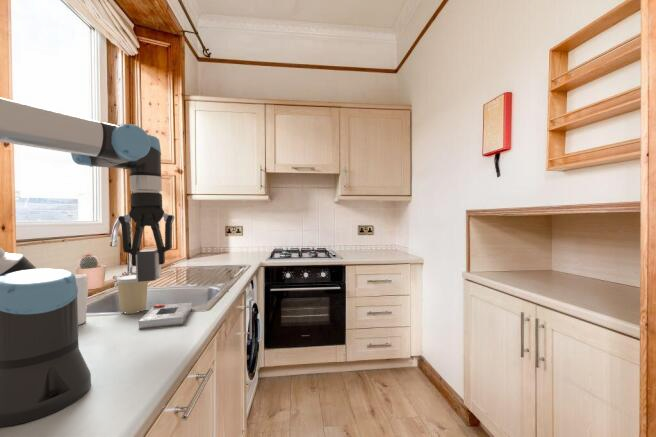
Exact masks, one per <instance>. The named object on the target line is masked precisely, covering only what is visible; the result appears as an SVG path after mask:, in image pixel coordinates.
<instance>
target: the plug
mask: <svg viewBox="0 0 656 437" xmlns="http://www.w3.org/2000/svg"><path fill="white" fill-rule="evenodd" d="M157 252H158V250H157V248H153V249H151V248H150V249H142V250H139V251H138V252H137V265H138V282H141V281H147V282H153V281H156V280H158V279H159V278H160V277H156V269H155V254H156V253H157Z"/></svg>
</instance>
